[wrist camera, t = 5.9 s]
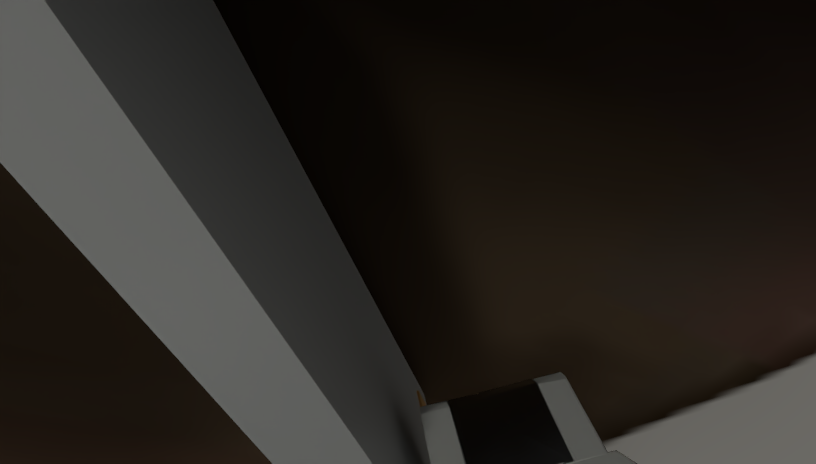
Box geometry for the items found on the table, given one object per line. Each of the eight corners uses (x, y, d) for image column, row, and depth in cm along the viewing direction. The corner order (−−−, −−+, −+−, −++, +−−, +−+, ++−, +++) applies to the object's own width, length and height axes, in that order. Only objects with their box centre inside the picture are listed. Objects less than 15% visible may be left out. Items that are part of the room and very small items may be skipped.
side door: (72, -278, 6) (-472, -707, 2) (430, 399, 14) (490, 634, 9) (-10, -240, 6) (-720, -566, 2) (390, 414, 14) (431, 654, 9)
